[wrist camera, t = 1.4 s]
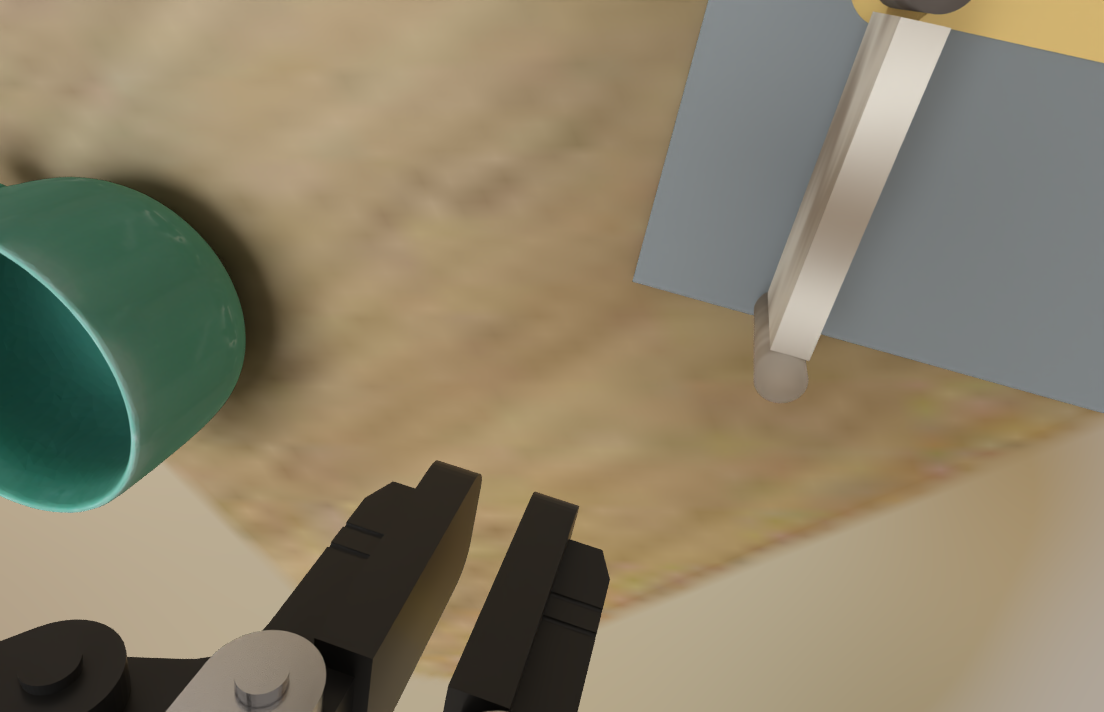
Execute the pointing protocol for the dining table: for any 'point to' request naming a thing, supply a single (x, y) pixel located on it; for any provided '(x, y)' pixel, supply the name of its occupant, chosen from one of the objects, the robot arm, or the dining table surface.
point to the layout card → (907, 185)
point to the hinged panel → (844, 191)
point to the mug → (105, 340)
